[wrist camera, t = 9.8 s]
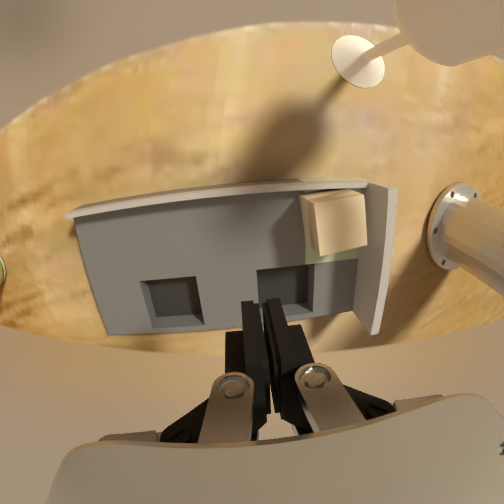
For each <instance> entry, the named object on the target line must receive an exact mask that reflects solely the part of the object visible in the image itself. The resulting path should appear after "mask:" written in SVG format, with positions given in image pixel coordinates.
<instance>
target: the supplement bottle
mask: <svg viewBox="0 0 504 504" xmlns="http://www.w3.org/2000/svg"><path fill="white" fill-rule="evenodd" d="M5 277H6V269H5V265H4V262H3V260H2V258H1V256H0V284H2V283H3V282H4V280H5Z"/></svg>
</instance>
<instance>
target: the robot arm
mask: <svg viewBox="0 0 504 504" xmlns="http://www.w3.org/2000/svg"><path fill="white" fill-rule="evenodd" d="M427 246H428V250H429V254H430V256H431V258H432V260H433V261H434V262H435V263H436V264H437V265H438V266H440V267H441V268H443V269H446V270H452V269H456V268H458V267H461V268H463V269H464V270H466V271H467V272H469V273H470V274H472V275H473V276H475V277H476V278H478V279H479V280H481V281H482V282H484V283H485V284H486V285H488V286H489V287H491V288H492V289H494V290H495V291H496V292H498V293H499V294H500V295H502V296H503V297H504V208H501V207H499V206H496V205H493V204H490V203H488V202H485V201H482V200H481V197H480V195H479V193H478V192H477V190H476V189H475V188H474V187H472V186H471V185H468V184H465V183H455V184H452V185H451V186H449V187H447V188H446V189H445V190H444V191H443V192H442V193H441V195H440V196H439V197H438V199H437V201H436V203H435V204H434V207H433V209H432V212H431V214H430V218H429V222H428V228H427ZM262 309H263V326H264V332H263V327H262V321H261V315H260V309H259V303H254V302H253V300H250V301H241V311H242V326H243V331H231V332H226V336H225V374H223V375H222V376H219V377H218V378H217V379H216V380H215V381H214V383H213V385H212V389H211V393H210V397H209V398H208V399H207V400H205V401H204V402H203V403H201V404H200V405H198V406H197V407H196V408H194V409H193V410H192V411H190V412H189V413H187V414H186V415H184V416H183V417H182V418H180V419H179V420H177V421H176V422H174V423H173V424H171V425H170V426H168V427H167V428H166V429H165V430H164V431H163V432H159V433H156V431H155V430H154V431H145V432H135V433H124V434H110V435H105V436H103V437H102V438H100V439H99V441H98V442H91V443H86V444H83V445H80V446H77V447H75V448H73V449H72V450H70V451H69V452H68V453H67V455H66V456H65V457H64V458H63V460H62V462H61V464H60V466H59V468H58V470H57V472H56V474H55V477H54V479H53V482H52V485H51V489H50V492H49V495H48V498H47V502H46V504H504V417H503V415H502V414H501V413H500V412H499V411H498V409H497V408H496V407H495V406H494V405H493V404H492V403H491V402H490V401H489V400H488V399H486V398H485V397H484V396H482V395H479V394H474V393H460V394H452V395H447V396H442V395H430V396H424V397H418V398H411V399H404V400H396V401H395V402H394V403H391V404H390V403H389V402H387V401H385V400H383V399H380V398H377V397H374V396H372V395H369V394H366V393H363V392H361V391H358V390H356V389H353V388H351V387H348V386H345V385H343V384H342V383H341V381H340V380H339V378H338V377H337V375H336V374H335V372H334V371H333V370H332V369H331V368H330V367H328V366H327V365H325V364H321V363H315V362H314V359H313V357H312V354H311V351H310V348H309V346H308V343H307V340H306V337H305V335H304V332H303V329H302V327H301V325H300V324H299V325H291V326H288V324H287V321H286V318H285V314H284V311H283V308H282V304H281V301H280V298H271V299H267V302H264V303H262ZM270 386H271V392H272V398H273V404H274V410H275V413H280V415H281V419H284V420H285V421H287V422H289V423H291V424H292V428H293V431H294V434H295V436H292V437H285V438H278V439H269V440H260V441H258V440H259V429H260V428H261V427H262V426H263V425H264V424H265V423H266V422H267V417H266V416H267V414H270V413H271V405H270V404H271V403H270Z"/></svg>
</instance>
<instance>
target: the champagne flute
mask: <svg viewBox="0 0 504 504" xmlns="http://www.w3.org/2000/svg"><path fill="white" fill-rule="evenodd" d="M395 14H396V22H397V25H398V28H399V30H400V32H401V33H399V34H397V35H395V36H393V37H391V38H389V39H387V40H385V41H384V42H382V43H380V44H378V45H376V46H373V45H372V44H371V43H370V42H369V41H367V40H365V39H363V38H361V37H358V36H353V35H348V36H343V37H341V38H339V39H338V40H337V41H336V42H335V43H334V45H333V47H332V61H333V64H334V66H335V68H336V70H337V71H338V73H339V74H340V75H341V76H342V77H343V78H344V79H345V80H346V81H348V82H349V83H351V84H353V85H355V86H357V87H362V88H370V87H373V86H376V85H377V84H378V83H380V81H381V80H382V78H383V76H384V71H385V68H384V62H383V59H382V55H384V54H387V53H389V52H391V51H393V50H396V49H398V48H400V47H403V46H405V45H408V44H409V45H410V46H411V47H412V48H413V49H414V50H415V51H417V52H418V53H419V54H421V55H422V56H424V57H425V58H427V59H429V60H431V61H433V62H435V63H438V64H440V65H444V66H456V65H459V64H462V63H465V62H468V61H472V60H475V59H478V58H481V57H485V56H488V55H492V54H495V53H499V52H503V51H504V0H397V2H396V10H395Z"/></svg>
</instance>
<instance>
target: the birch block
mask: <svg viewBox="0 0 504 504" xmlns="http://www.w3.org/2000/svg"><path fill="white" fill-rule="evenodd" d="M299 199H300V206H301V212H302V219H303V226H304V233H305V239H306V241H307V242H308V243H309V244H310V245H311V246H312V248H313V249H314V250H315V251H316V252H317V253H318V254H319V256H324V255H328V254H332V253H337V252H341V251H345V250H349V249H353V248H357V247H361V246H365V245H367V228H366V212H365V199H364V194H361V193H359V192H356V191H353V190H351V189H348V188H338V189H325V190H320V191H314V192H309V193H304V194H299Z"/></svg>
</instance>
